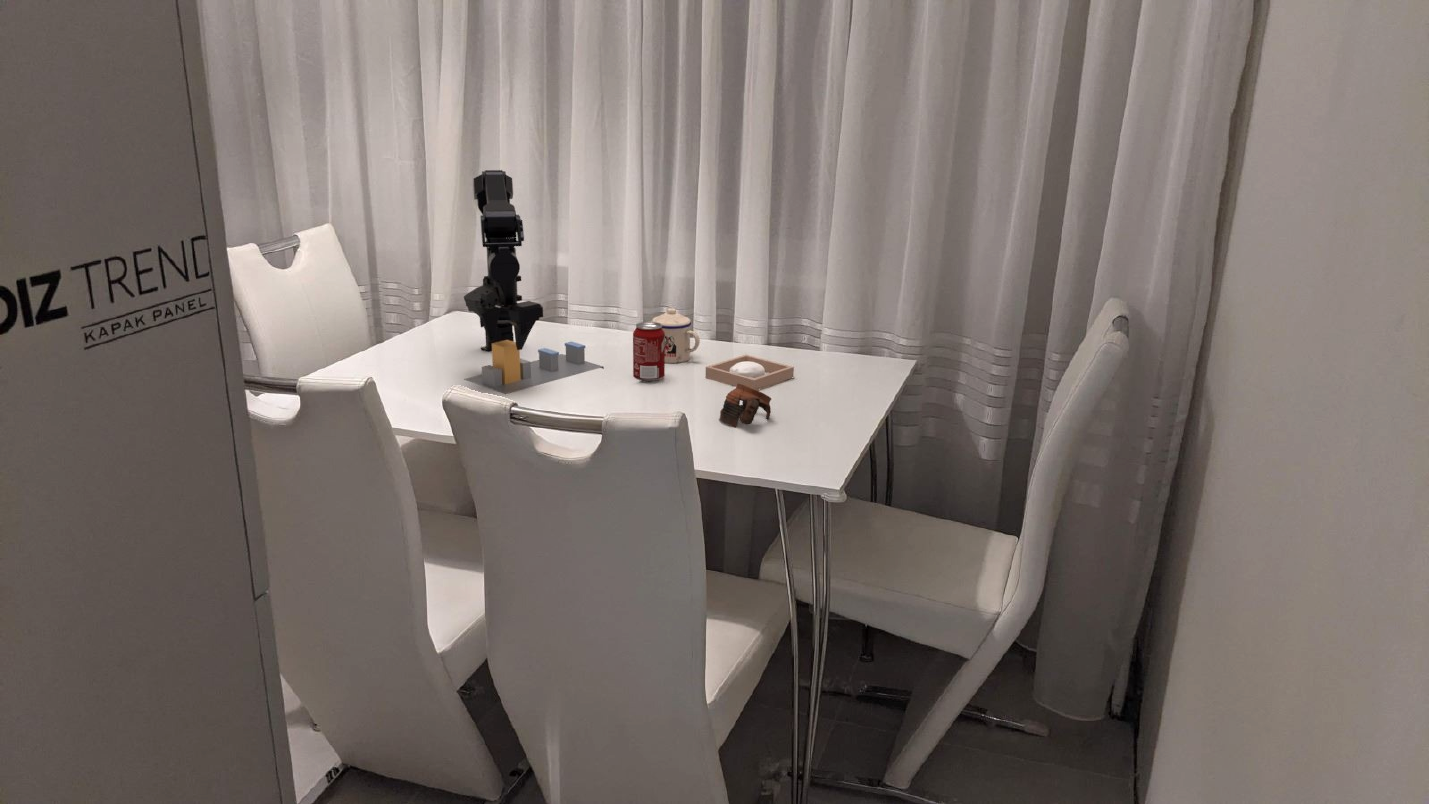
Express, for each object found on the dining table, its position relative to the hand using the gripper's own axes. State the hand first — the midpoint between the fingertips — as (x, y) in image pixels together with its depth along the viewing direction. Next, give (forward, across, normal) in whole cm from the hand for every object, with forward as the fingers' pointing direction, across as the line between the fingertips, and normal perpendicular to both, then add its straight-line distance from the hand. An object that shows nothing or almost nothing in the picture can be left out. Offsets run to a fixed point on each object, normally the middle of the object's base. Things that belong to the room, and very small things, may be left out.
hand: (505, 345), depth 222 cm
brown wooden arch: (+9, +51, +18) cm, 54 cm away
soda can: (+9, +18, +24) cm, 31 cm away
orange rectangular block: (+8, 0, 0) cm, 8 cm away
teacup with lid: (+9, +12, +39) cm, 42 cm away
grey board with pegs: (+9, 0, +8) cm, 11 cm away
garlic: (+9, +33, +39) cm, 52 cm away
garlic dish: (+8, +33, +40) cm, 53 cm away
